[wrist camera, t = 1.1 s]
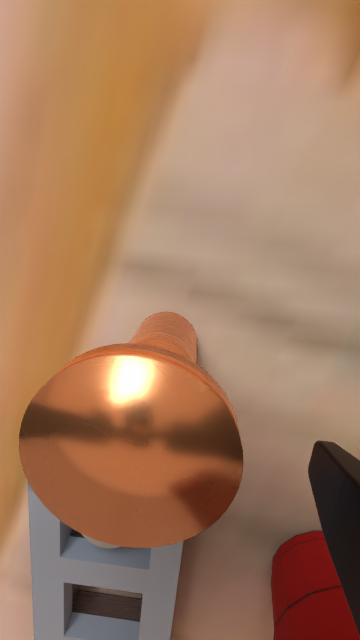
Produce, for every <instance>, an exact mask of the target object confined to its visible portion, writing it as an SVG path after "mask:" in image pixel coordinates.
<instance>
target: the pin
mask: <svg viewBox="0 0 360 640" xmlns="http://www.w3.org/2000/svg"><path fill="white" fill-rule="evenodd" d="M196 352H197V338H196V333H195V330H194V328H193V327H192V325H191V324H190V323H189V321H188V320H186V319H185V318H184V317H182V316H180V315H178V314H176V313H172V312H160V313H156V314H154V315H152V316H150V317H148V318H147V319H146V320H145V321H144V322H143V323H142V324H141V326H140V328H139V329H138V331H137V332H136V334H135V335H134V337H133V338H132V340H131V341H130V343H126V344H113V345H108V346H103V347H99V348H96V349H94V350H91V351H88V352H86V353H84V354H82V355H80V356H78V357H76V358H75V359H73V360H72V361H70V362H69V363H67V364H66V365H65V366H64V367H63V368H62V369H61V370H60V371H59V372H57V373H56V374H55V375H54V376H53V377H52V378H51V379H50V380H49V381H48V382H47V383H46V384H45V385H44V386H43V387H42V388H41V389H40V390H39V391H38V392H37V394H36V395H35V396H34V398H33V399H32V400H31V402H30V404H29V406H28V408H27V410H26V412H25V414H24V417H23V420H22V423H21V429H20V434H19V451H20V459H21V463H22V466H23V470H24V473H25V475H26V478H27V480H28V482H29V484H30V486H31V488H32V489H33V491H34V493H35V494H36V496H37V497H38V498H39V499H40V501H41V502H42V503H43V505H44V506H45V507H46V508H47V509H48V510H49V511H50V512H51V513H52V514H53V515H55V516H56V517H57V518H58V519H59V520H61V521H62V522H63V523H65V524H66V525H68V526H69V527H71V528H72V529H74V530H76V531H78V532H79V533H81V534H83V535H85V536H88V537H90V538H93V539H95V540H98V541H101V542H104V543H108V544H112V545H117V546H122V547H132V548H152V547H160V546H166V545H170V544H175V543H178V542H181V541H184V540H186V539H189V538H191V537H193V536H195V535H197V534H199V533H201V532H202V531H204V530H205V529H207V528H208V527H210V526H211V525H212V524H213V523H214V522H216V521H217V520H218V519H219V518H220V517H221V516H222V514H223V513H224V512H225V511H226V510H227V509H228V507H229V505H230V504H231V502H232V501H233V499H234V497H235V495H236V493H237V490H238V488H239V485H240V481H241V477H242V470H243V450H242V446H241V441H240V436H239V431H238V426H237V421H236V417H235V414H234V411H233V408H232V406H231V404H230V402H229V400H228V398H227V396H226V394H225V393H224V391H223V390H222V389H221V387H220V386H219V385H218V383H217V382H216V381H215V380H214V379H213V378H212V377H211V376H210V375H209V374H208V373H207V372H206V371H204V370H203V369H202V368H201V367H199V366H198V365H197V364H196Z"/></svg>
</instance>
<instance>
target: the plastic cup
mask: <svg viewBox="0 0 360 640" xmlns="http://www.w3.org/2000/svg"><path fill="white" fill-rule="evenodd" d="M271 589H272V603H273V617H274V640H360V636H359V633H358V631H357V628H356V625H355V622H354V619H353V617H352V614H351V611H350V608H349V605H348V603H347V600H346V597H345V594H344V592H343V589H342V586H341V583H340V580H339V578H338V575H337V572H336V569H335V566H334V564H333V561H332V558H331V555H330V553H329V550H328V547H327V544H326V541H325V537H324V534H323V531H311V532H308V533H304V534H300V535H296V536H294V537H293V538H291V539H290V540H288V541H287V542H286V543H284V544H283V545H281V546H280V548H279V550H278V551H277V553H276V554H275V556H274V557H273V565H272V579H271Z"/></svg>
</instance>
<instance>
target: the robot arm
mask: <svg viewBox="0 0 360 640" xmlns="http://www.w3.org/2000/svg"><path fill="white" fill-rule="evenodd" d="M308 474H309V479H310V483H311V487H312V491H313V495H314V499H315V503H316V507H317V511H318V515H319V519H320V523H321V527H322V530H323V534H324V537H325V541H326V544H327V547H328V550H329V553H330V555H331V558H332V561H333V564H334V566H335V569H336V572H337V575H338V578H339V580H340V583H341V586H342V589H343V592H344V594H345V597H346V600H347V603H348V605H349V608H350V611H351V614H352V617H353V619H354V622H355V625H356V628H357V631H358V633H359V636H360V460H358V459H357V458H355V457H354V456H352V455H351V454H350V453H348V452H347V451H345V450H344V449H342V448H341V447H340V446H338V445H337V444H335V443H333V442H328V441H320V440H319V441H317V442H316V443H315V444H314V447H313V451H312V455H311V459H310V463H309V467H308Z"/></svg>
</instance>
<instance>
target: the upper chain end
mask: <svg viewBox="0 0 360 640" xmlns="http://www.w3.org/2000/svg"><path fill="white" fill-rule="evenodd" d="M28 500H29V525H30V549H31V573H32V597H33V621H34V640H170V635H171V628H172V621H173V614H174V606H175V599H176V592H177V585H178V578H179V570H180V563H181V556H182V549H183V542H184V541H181V542H178V543H175V544H170V545H166V546H160V547H152V548H132V547H122V546H117V545H112V544H108V543H104V542H101V541H98V540H95V539H93V538H90V537H88V536H85V535H83V534H82V535H83V536H84V537H85V538H80V537H73V536H69V535H70V533H71V531H72V528H71V527H69V526H68V525H66V524H65V523H63V522H62V521H61V520H59V519H58V518H57V517H56V516H55V515H53V514H52V513H51V512H50V511H49V510H48V509H47V508H46V507H45V506H44V505H43V503H42V502H41V501H40V499H39V498H38V497H37V496H36V494H35V493H34V491H33V489H32V488H31V486H30V484H29V482H28ZM72 584H79V585H86V586H93V587H100V588H106V589H113V590H120V591H127V592H134V593H141V594H143V597H142V608H141V618H140V622H137V621H130V620H123V619H117V618H110V617H103V616H96V615H89V614H83V613H76V612H72Z"/></svg>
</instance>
